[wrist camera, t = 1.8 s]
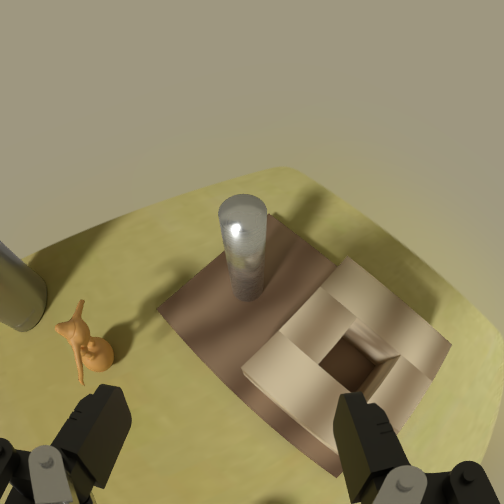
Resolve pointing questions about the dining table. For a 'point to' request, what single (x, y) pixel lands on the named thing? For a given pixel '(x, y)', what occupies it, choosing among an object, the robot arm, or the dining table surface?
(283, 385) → the beech bead block
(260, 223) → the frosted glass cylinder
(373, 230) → the dining table surface
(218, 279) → the walnut board
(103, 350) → the figurine
